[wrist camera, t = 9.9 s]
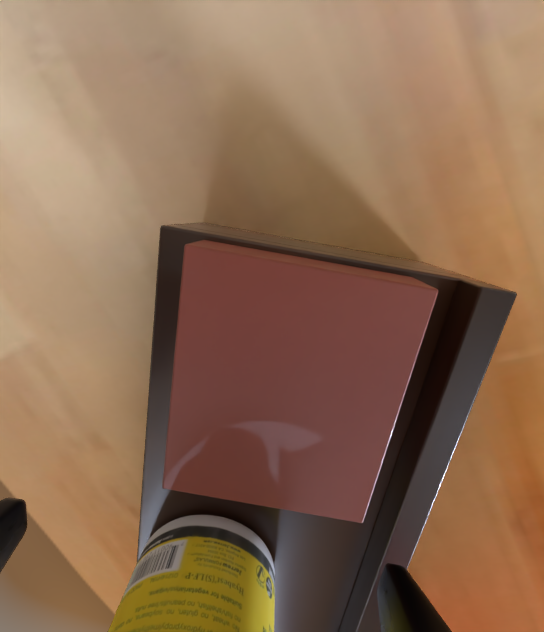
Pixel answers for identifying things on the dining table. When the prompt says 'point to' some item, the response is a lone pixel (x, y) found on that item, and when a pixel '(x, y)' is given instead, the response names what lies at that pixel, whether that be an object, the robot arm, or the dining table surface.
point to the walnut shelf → (401, 455)
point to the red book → (288, 377)
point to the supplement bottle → (200, 580)
